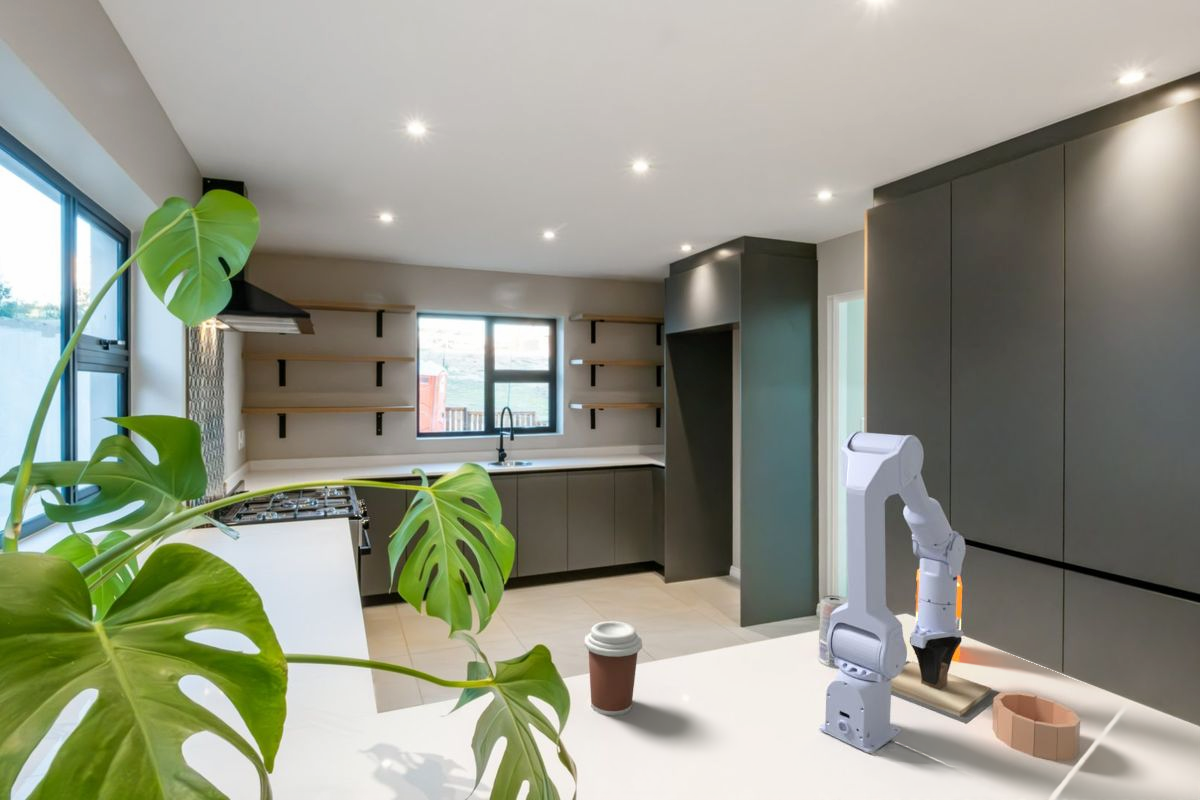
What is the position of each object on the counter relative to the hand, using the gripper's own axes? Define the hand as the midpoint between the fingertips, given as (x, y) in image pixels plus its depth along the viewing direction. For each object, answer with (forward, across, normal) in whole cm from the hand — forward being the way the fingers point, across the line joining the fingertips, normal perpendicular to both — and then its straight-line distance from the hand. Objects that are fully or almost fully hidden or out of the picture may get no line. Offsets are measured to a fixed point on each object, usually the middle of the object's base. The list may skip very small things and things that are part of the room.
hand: (934, 679), depth 108 cm
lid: (+2, 0, 0) cm, 2 cm away
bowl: (+2, -5, -16) cm, 17 cm away
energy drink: (+2, -4, +16) cm, 17 cm away
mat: (+2, 0, 0) cm, 2 cm away
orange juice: (+2, +18, +7) cm, 19 cm away
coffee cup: (+2, -47, +29) cm, 55 cm away
